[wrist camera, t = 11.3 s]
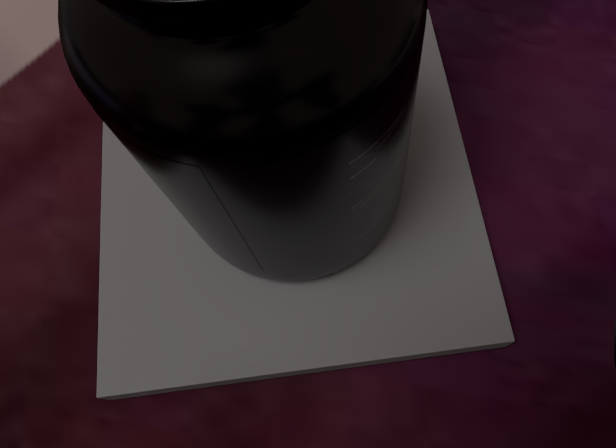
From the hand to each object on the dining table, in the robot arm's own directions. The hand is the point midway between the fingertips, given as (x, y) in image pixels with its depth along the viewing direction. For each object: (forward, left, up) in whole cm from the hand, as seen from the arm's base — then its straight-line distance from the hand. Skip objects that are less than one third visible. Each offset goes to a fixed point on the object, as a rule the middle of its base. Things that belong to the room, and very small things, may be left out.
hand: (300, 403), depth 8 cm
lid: (+7, +1, -9) cm, 12 cm away
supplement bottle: (+7, 0, -8) cm, 11 cm away
